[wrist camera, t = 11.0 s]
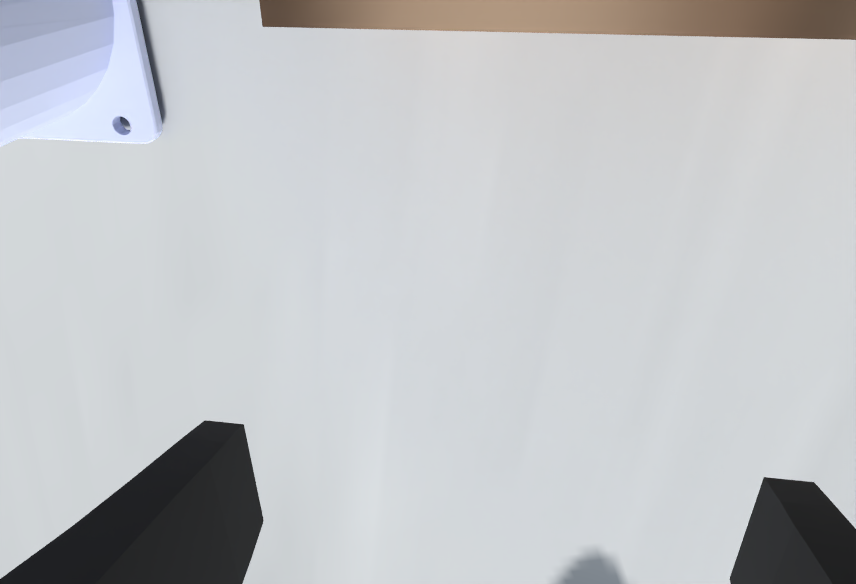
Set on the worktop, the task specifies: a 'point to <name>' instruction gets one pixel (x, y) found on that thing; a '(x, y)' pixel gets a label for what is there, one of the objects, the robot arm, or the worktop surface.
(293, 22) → the walnut bay
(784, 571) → the robot arm
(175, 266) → the worktop surface
